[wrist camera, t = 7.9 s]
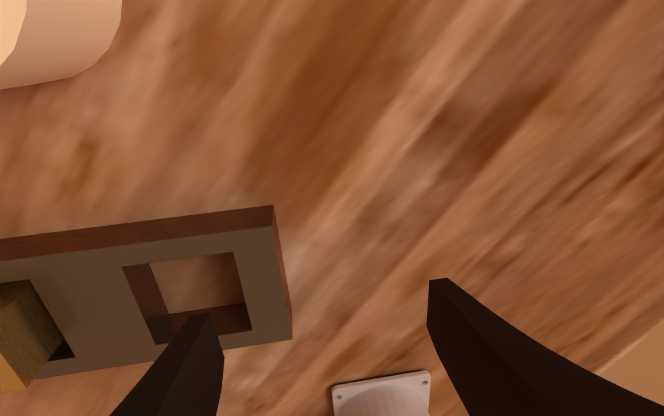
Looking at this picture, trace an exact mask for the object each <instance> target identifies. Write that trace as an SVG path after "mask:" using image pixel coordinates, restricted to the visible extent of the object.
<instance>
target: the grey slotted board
mask: <svg viewBox="0 0 664 416" xmlns="http://www.w3.org/2000/svg"><path fill="white" fill-rule="evenodd" d="M227 252H233V254H234V258H235V262H236V266H237V270H238V274H239V278H240V282H241V286H242V289H243V293H244V297H245V301H246V303H244V304H237V305H230V306H223V307H216V308H210V309H203V310H196V311H189V312H182V313H175V314H168V311H167V309H166V306H165V304H164V301H163V298H162V296H161V293H160V291H159V288H158V286H157V283H156V281H155V278H154V275H153V273H152V270H151V268H150V265H149V263H152V262H160V261H167V260H175V259H182V258H190V257H197V256H205V255H212V254H219V253H227ZM26 279H29V280H30V281H31V283H32V285H33V286H34V288H35V290H36V291H37V293H38V295H39V296H40V298H41V300H42V301H43V303H44V305H45V306H46V308H47V310H48V311H49V313H50V315H51V316H52V318H53V320H54V321H55V323H56V325H57V326H58V328H59V330H60V331H61V333H62V335H63V336H64V340H63V341H62V342H61V344H60V345H59V346H58V348H57V349H56V350H55V352H54V353H53V354H52V356H51V357H50V358H49V360H48V361H47V362H46V364H45V365H44V366H43V368H42V369H41V370H40V372H39V373H38V374H37V376H36V377H35V378H34V379H41V378H47V377H53V376H60V375H66V374H73V373H79V372H85V371H92V370H98V369H105V368H111V367H118V366H124V365H130V364H137V363H143V362H150V361H156V360H157V358H158V357H159V356H160V355H161V353H162V352H163V351H164V349H165V348H166V347H167V346H168V344H169V343H170V342H171V340H172V339H173V338H174V336H175V335H176V334H177V332H178V331H179V330H180V328H181V327H182V326H183V324H184V323H185V322H186V321H187V319H188V318H189V317H190V316H191V315H197V314H203V313H211V317H212V320H213V323H214V326H215V329H216V332H217V335H218V339H219V342H220V345H221V348H222V350H227V349H233V348H240V347H246V346H252V345H259V344H265V343H272V342H278V341H285V340H291V339H292V309H291V303H290V298H289V292H288V286H287V280H286V275H285V269H284V263H283V257H282V252H281V246H280V240H279V235H278V229H277V223H276V217H275V212H274V206H273V205H270V206H262V207H254V208H246V209H238V210H230V211H222V212H214V213H206V214H198V215H190V216H182V217H174V218H166V219H158V220H150V221H142V222H134V223H126V224H118V225H110V226H102V227H94V228H86V229H78V230H70V231H62V232H54V233H46V234H38V235H30V236H22V237H14V238H6V239H0V283H3V282H11V281H18V280H26Z"/></svg>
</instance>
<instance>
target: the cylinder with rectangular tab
mask: <svg viewBox="0 0 664 416" xmlns="http://www.w3.org/2000/svg"><path fill="white" fill-rule="evenodd" d="M121 7H122V0H0V90H2V89H8V88H14V87H20V86H26V85H32V84H38V83H45V82H50V81H55V80H60V79H66V78H71V77H73V76H75V75H77V74H79V73H80V72H82V71H84V70H86V69H88V68H90V67H91V66H93V65H94V64H95V63H96V62H97V61H98V60H99V59H100V57H101V56H102V55H103V54H104V53H105V52H106V51H107V50H108V48H109V47H110V45H111V43H112V40H113V38H114V36H115V33H116V31H117V29H118V26H119V24H120V17H121Z"/></svg>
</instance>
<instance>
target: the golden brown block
mask: <svg viewBox="0 0 664 416" xmlns="http://www.w3.org/2000/svg"><path fill="white" fill-rule="evenodd" d="M63 340H64V336H63V335H62V333H61V331H60V330H59V328H58V326H57V325H56V323H55V321H54V320H53V318H52V316H51V315H50V313H49V311H48V310H47V308H46V306H45V305H44V303H43V301H42V300H41V298H40V296H39V295H38V293H37V291H36V290H35V288H34V286H33V285H32V283H31V281H30V280H29V279H26V280H18V281H11V282H3V283H0V393H3V392H10V391H16V390H22V389H27V388H28V386H29V385H30V384H31V382H32V381H33V380H34V378H35V377H36V376H37V374H38V373H39V372H40V370H41V369H42V368H43V366H44V365H45V364H46V362H47V361H48V360H49V358H50V357H51V356H52V354H53V353H54V352H55V350H56V349H57V348H58V346H59V345H60V344H61V342H62V341H63Z"/></svg>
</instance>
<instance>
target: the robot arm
mask: <svg viewBox="0 0 664 416" xmlns="http://www.w3.org/2000/svg"><path fill="white" fill-rule="evenodd" d="M427 328H428V331H429V334H430V336H431V339H432V342H433V344H434V347H435V349H436V352H437V354H438V356H439V358H440V360H441V362H442V364H443V366H444V368H445V370H446V372H447V374H448V376H449V378H450V380H451V381H452V383H453V385H454V387H455V389H456V391H457V393H458V395H459V397H460V398H461V400H462V402H463V404H464V406H465V408H466V410H467V412H468V414H469V415H470V416H664V406H662V405H660V404H658V403H655V402H653V401H651V400H649V399H646V398H644V397H641V396H639V395H637V394H635V393H633V392H631V391H628V390H626V389H624V388H622V387H620V386H618V385H616V384H614V383H612V382H610V381H608V380H605V379H604V378H602V377H600V376H598V375H596V374H594V373H592V372H590V371H588V370H586V369H584V368H582V367H580V366H578V365H576V364H574V363H573V362H571V361H569V360H567V359H566V358H564V357H562V356H560V355H559V354H557V353H555V352H553V351H552V350H550V349H548V348H546V347H545V346H543V345H541V344H540V343H538V342H537V341H535V340H533V339H532V338H530V337H529V336H527V335H526V334H524V333H523V332H521V331H519V330H518V329H516V328H515V327H513V326H512V325H511V324H509V323H508V322H506V321H505V320H503V319H502V318H500V317H499V316H498V315H496V314H495V313H493V312H492V311H491V310H489V309H488V308H487V307H485V306H484V305H482V304H481V303H480V302H478V301H477V300H476V299H474V298H473V297H472V296H471V295H469V294H468V293H467V292H465V291H464V290H463V289H461V288H460V287H459V286H457V285H456V284H455V283H453V282H452V281H451V280H449V279H448V278H442V279H435V280H429V294H428V310H427ZM223 369H224V354H223V351H222V348H221V345H220V342H219V339H218V335H217V332H216V329H215V326H214V323H213V320H212V317H211V313H203V314H197V315H191V316H190V317H189V318H188V319H187V321H186V322H185V323H184V324H183V326H182V327H181V328H180V330H179V331H178V332H177V334H176V335H175V336H174V338H173V339H172V340H171V342H170V343H169V344H168V346H167V347H166V348H165V349H164V351H163V352H162V353H161V355H160V356H159V357H158V358H157V360H156V361H155V362H154V363H153V365H152V366H151V367H150V369H149V370H148V371H147V372H146V374H145V375H144V376H143V377H142V378H141V380H140V381H139V382H138V383H137V384H136V386H135V387H134V388H133V389H132V390H131V391H130V393H129V394H128V395H127V396H126V397H125V398H124V400H123V401H122V402H121V403H120V404H119V405H118V406H117V408H116V409H115V410H114V411H113V412H112V413H111V414H110V415H109V416H216V413H217V408H218V404H219V399H220V394H221V388H222V379H223ZM430 381H431V376H430V374H429V372H428V371H418V372H412V373H406V374H400V375H394V376H388V377H382V378H376V379H370V380H364V381H358V382H352V383H346V384H340V385H336V386H334V387H333V388H332V389H331V392H332V400H333V408H334V416H430V415H429V413H428V407H429V394H430Z"/></svg>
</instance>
